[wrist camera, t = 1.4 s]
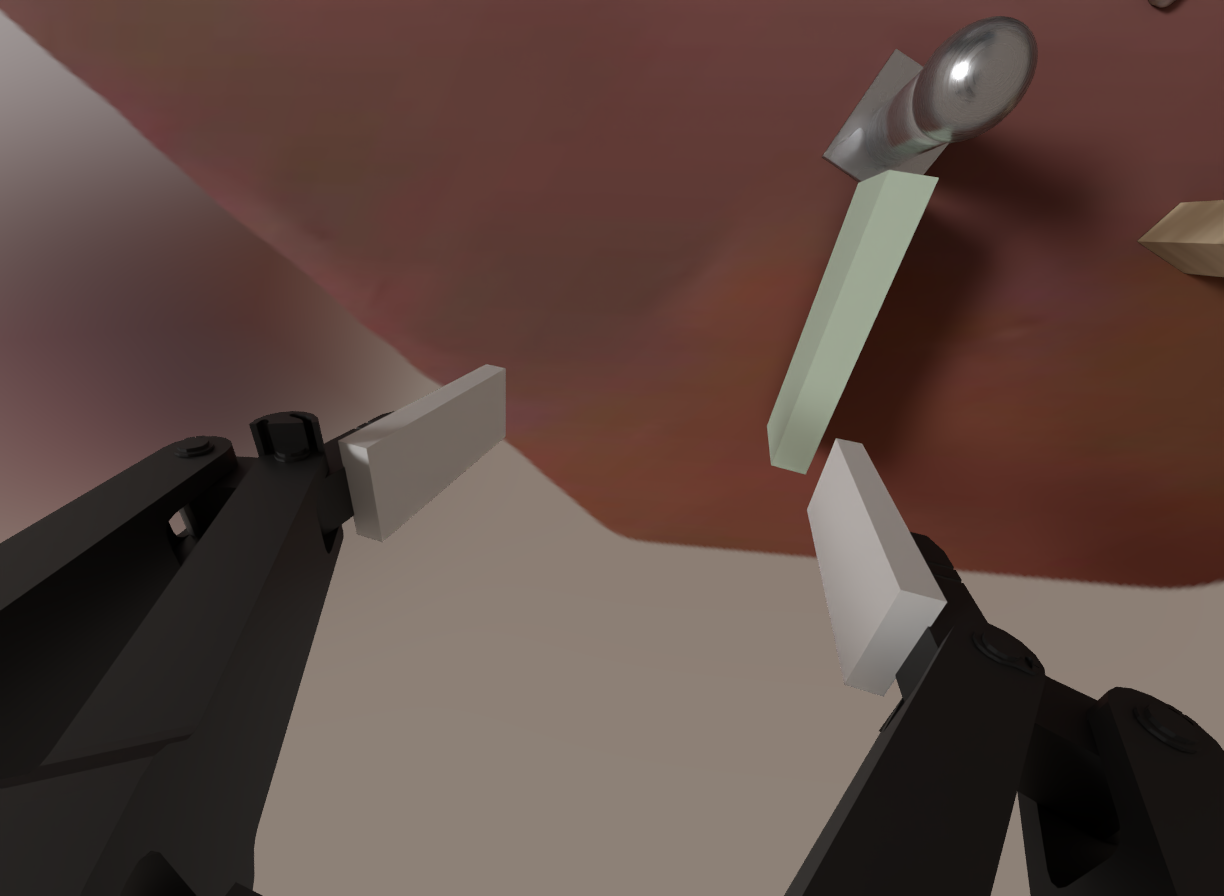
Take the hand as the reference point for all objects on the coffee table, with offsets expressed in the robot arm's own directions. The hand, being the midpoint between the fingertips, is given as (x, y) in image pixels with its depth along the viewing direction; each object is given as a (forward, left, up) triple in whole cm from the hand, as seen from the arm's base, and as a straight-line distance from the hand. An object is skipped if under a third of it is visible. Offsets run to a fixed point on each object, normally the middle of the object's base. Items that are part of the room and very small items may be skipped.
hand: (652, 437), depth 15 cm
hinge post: (-14, +3, -18) cm, 23 cm away
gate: (-5, +6, -17) cm, 19 cm away
